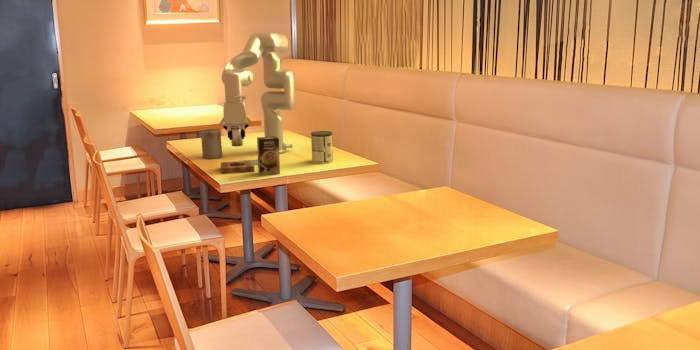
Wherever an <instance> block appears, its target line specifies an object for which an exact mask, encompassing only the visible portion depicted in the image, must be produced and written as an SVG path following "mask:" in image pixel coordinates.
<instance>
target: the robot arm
mask: <svg viewBox="0 0 700 350" xmlns="http://www.w3.org/2000/svg"><path fill="white" fill-rule="evenodd" d="M288 48H289V39H288V37H287V36H286V35H285V34H282V33H276V32H269V31H268V32H254V33H252V34H251V35H250V36H249V38H248V40H247V42H246V44H245V46H244V48H243V50H242V52H241V53H238V54H237V55H235V56H234V57H232V58H231V59H230V60H228V62H227V63H226V64H225V66H224V68H223V71H222V73H221V82H222V83H223V85H224V97H225V99H224V100H225V102H224V103H223V107H222V109H223V117H222V119H221V121H220V122H218V123H219V126H220V127H221V128H222V129H224V130H226V132H227V139H229V141H231V140H232V139H231V130H230V127H231V125H241V126H242V140H244V139H245V138H246V129H247V128H248V127H249V126H250V125H251V124H253V122H252V120H251V119H250V118H249V117H248V116H247V109H246V103H245V101H244V100H246V95H245V96H244V95H243V88H242V87H249V86H250V85H252V83H253V82H254V74H253V72H252V71H251V70H249V69H246V68H250V67H252V66H254V65H257V64H258V62H259V60H260V59H261V58H262V63H263V64H262V65H263V83H264V87H266V88H268V89H276V90H268V91H265V92H263V93H262V94H261V97H260V103H261V109H262V113H263V128H264V129H263V130H264V137H278V138H279V155H280V154H283V153H287V149H293V143H285V142H284V128H283V125H284V124H283V117H282V115H281V113H280V111H291V110H293V109H294V108H295V105H296V77H295V74H294V72H293V71H292V70H289V69H281V60H280V56H279V55H278V54H277V53H284V52H286V51H287V50H288ZM277 89H280V90H281V89H282V91H280V90H277ZM226 125H227V126H226Z"/></svg>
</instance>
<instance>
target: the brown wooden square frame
mask: <svg viewBox="0 0 700 350" xmlns="http://www.w3.org/2000/svg"><path fill="white" fill-rule="evenodd" d="M220 167H221V168H220V169H221V172H222V174H223V175H226V174H227V175H228V174H238V173H239V174H240V173H241V174H242V173H254V172H255V165H253V163H252V161H243V160H237V161H221V162H220Z"/></svg>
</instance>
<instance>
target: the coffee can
mask: <svg viewBox="0 0 700 350" xmlns="http://www.w3.org/2000/svg"><path fill="white" fill-rule="evenodd" d="M310 138H311V141H310V142H311V163H314V164H329V163H330V164H331V163H332V162H334V158H333V157H334V156H333V155H334V154H333V132H332V131H328V130H317V131H312V132H310Z"/></svg>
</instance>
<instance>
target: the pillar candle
mask: <svg viewBox="0 0 700 350" xmlns="http://www.w3.org/2000/svg"><path fill="white" fill-rule="evenodd" d="M221 134H222V133H221V129H219V128H211V127H210V128H207V129H202V130H201V131H200V137H201V138H200V139H201V151H202V159H205V160H213V159H221V158H222V157H223V151H222V150H223V149H222V136H221Z"/></svg>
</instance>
